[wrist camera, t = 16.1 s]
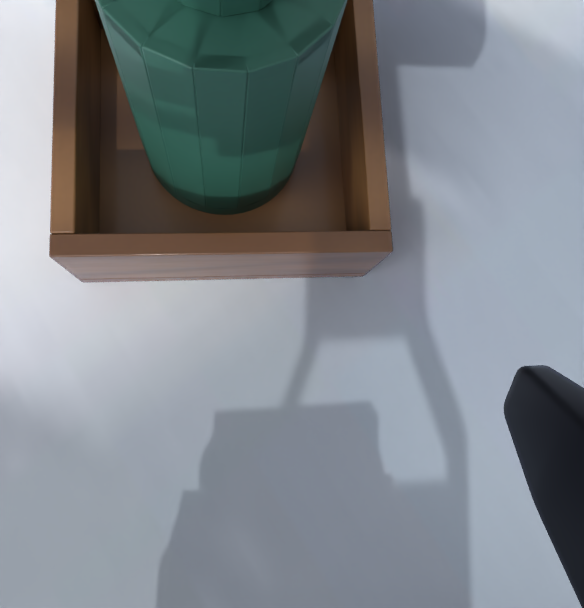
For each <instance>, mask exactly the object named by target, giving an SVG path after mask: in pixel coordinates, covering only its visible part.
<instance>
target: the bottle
mask: <svg viewBox="0 0 584 608" xmlns="http://www.w3.org/2000/svg"><path fill="white" fill-rule="evenodd" d="M95 2H96V5H97V8H98V11H99V14H100V17H101V20H102V23H103V26H104V29H105V32H106V36H107V39H108V42H109V45H110V48H111V51H112V54H113V57H114V60H115V63H116V66H117V69H118V72H119V75H120V78H121V81H122V84H123V87H124V90H125V93H126V96H127V99H128V102H129V105H130V108H131V111H132V114H133V117H134V120H135V123H136V126H137V129H138V132H139V135H140V138H141V141H142V144H143V147H144V149H145V152H146V154H147V157H148V159H149V162H150V165H151V168H152V170H153V172H154V174H155V176H156V178H157V179H158V180H159V182H160V183H161V185H162V186H163V187H164V188H165V189H166V190H167V192H169V193H170V194H171V195H172V196H173V197H174V198H176V199H177V200H179V201H180V202H182V203H183V204H185V205H187V206H189V207H191V208H193V209H196V210H199V211H202V212H206V213H210V214H219V215H233V214H239V213H244V212H247V211H251V210H253V209H256V208H258V207H260V206H262V205H264V204H265V203H267V202H269V201H270V200H271V199H272V198H274V197H275V196H276V195H277V194H278V193H279V192H280V191H281V190H282V189H283V187H284V186H285V185H286V183H287V182H288V180H289V178H290V176H291V174H292V172H293V169H294V166H295V163H296V161H297V158H298V156H299V154H300V151H301V148H302V144H303V141H304V138H305V135H306V131H307V128H308V125H309V122H310V119H311V115H312V112H313V109H314V106H315V103H316V99H317V96H318V93H319V90H320V87H321V83H322V80H323V77H324V74H325V71H326V67H327V64H328V61H329V58H330V55H331V51H332V48H333V45H334V42H335V39H336V35H337V32H338V29H339V26H340V22H341V19H342V16H343V13H344V10H345V6H346V3H347V0H95Z"/></svg>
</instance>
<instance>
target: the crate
mask: <svg viewBox="0 0 584 608" xmlns="http://www.w3.org/2000/svg"><path fill="white" fill-rule="evenodd" d="M390 230H391V219H390V207H389V195H388V182H387V170H386V158H385V145H384V133H383V121H382V108H381V96H380V84H379V71H378V59H377V47H376V34H375V22H374V10H373V0H347V3H346V6H345V10H344V13H343V16H342V19H341V22H340V26H339V29H338V32H337V35H336V39H335V42H334V45H333V48H332V51H331V55H330V58H329V61H328V64H327V67H326V71H325V74H324V77H323V80H322V83H321V87H320V90H319V93H318V96H317V99H316V103H315V106H314V109H313V112H312V115H311V119H310V122H309V125H308V128H307V131H306V135H305V138H304V141H303V144H302V148H301V151H300V154H299V156H298V158H297V161H296V163H295V166H294V169H293V172H292V174H291V176H290V178H289V180H288V182H287V183H286V185H285V186H284V187H283V189H282V190H281V191H280V192H279V193H278V194H277V195H276V196H275V197H274V198H272V199H271V200H270V201H269V202H267V203H265V204H264V205H262V206H260V207H258V208H256V209H253V210H251V211H247V212H244V213H239V214H233V215H219V214H210V213H206V212H202V211H199V210H196V209H193V208H191V207H189V206H187V205H185V204H183V203H182V202H180V201H179V200H177V199H176V198H174V197H173V196H172V195H171V194H170V193H169V192H167V190H166V189H165V188H164V187H163V186H162V185H161V183H160V182H159V180H158V179H157V178H156V176H155V174H154V172H153V170H152V168H151V165H150V162H149V159H148V157H147V154H146V152H145V149H144V147H143V144H142V141H141V138H140V135H139V132H138V129H137V126H136V123H135V120H134V117H133V114H132V111H131V108H130V105H129V102H128V99H127V96H126V93H125V90H124V87H123V84H122V81H121V78H120V75H119V72H118V69H117V66H116V63H115V60H114V57H113V54H112V51H111V48H110V45H109V42H108V39H107V36H106V32H105V29H104V26H103V23H102V20H101V17H100V14H99V11H98V8H97V5H96V2H95V0H56V15H55V55H54V96H53V137H52V178H51V219H50V232H51V234H50V251H49V256H50V257H51V258H52V259H53V260H55V261H56V262H57V263H58V264H60V265H61V266H62V267H64V268H65V269H66V270H67V271H69V272H70V273H71V274H73V275H74V276H75V277H76V278H78V279H79V280H80V281H82V282H119V281H165V280H211V279H257V278H303V277H349V276H364V275H365V274H367V273H368V272H369V271H370V270H371V269H372V268H374V267H375V266H376V265H377V264H378V263H380V262H381V261H382V260H383V259H384V258H386V257H387V256H388V255H389V254H390V253H391V252H393V245H392V233H391V231H390Z"/></svg>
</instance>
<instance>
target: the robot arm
mask: <svg viewBox="0 0 584 608" xmlns="http://www.w3.org/2000/svg"><path fill="white" fill-rule="evenodd" d="M504 415H505V419H506V422H507V425H508V428H509V431H510V434H511V437H512V440H513V443H514V446H515V448H516V451H517V454H518V457H519V460H520V463H521V466H522V469H523V472H524V475H525V478H526V481H527V484H528V487H529V490H530V492H531V495H532V498H533V500H534V503H535V505H536V508H537V510H538V512H539V515H540V517H541V519H542V521H543V524H544V526H545V528H546V530H547V532H548V535H549V537H550V539H551V541H552V543H553V545H554V548H555V550H556V552H557V554H558V556H559V558H560V561H561V563H562V565H563V567H564V569H565V571H566V574H567V576H568V578H569V580H570V582H571V585H572V587H573V589H574V591H575V593H576V595H577V598H578V600H579V602H580V604H581V606H582V608H584V388H583V387H581V386H579V385H578V384H576V383H575V382H573V381H571V380H570V379H568V378H567V377H565V376H563V375H562V374H560V373H558V372H557V371H555V370H554V369H552V368H550V367H548V366H544V365H538V366H524V367H521V368H520V369H519V370H518V371H517V372H516V375H515V377H514V380H513V382H512V385H511V387H510V389H509V392H508V394H507V397H506V399H505V403H504Z"/></svg>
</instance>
